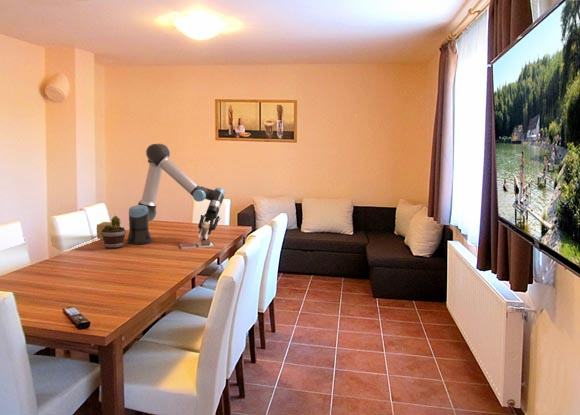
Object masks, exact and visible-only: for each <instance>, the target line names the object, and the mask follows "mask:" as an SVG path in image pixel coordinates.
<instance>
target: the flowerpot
mask: <svg viewBox="0 0 580 415" xmlns="http://www.w3.org/2000/svg"><path fill="white" fill-rule="evenodd" d="M110 222H112V225H113V226H112V225H111V226H112V227H111V226H110V224H109V225H107V226H105V227H104V229H102V231H101V232H100V234H101V236H103V239H102V240H103V241H104V242H103V246H104V247H105V249H110V250H113V249H120V248H123V246H124V245H125V241H124V240H125V235H126V234H127V230H126V229H125V227H123V226H121V225H122V224H121V218H120V217H118V216H117V215H116V214H115V215H114V216H113V217H112V218H111V219H110Z"/></svg>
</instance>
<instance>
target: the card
mask: <svg viewBox="0 0 580 415" xmlns="http://www.w3.org/2000/svg"><path fill="white" fill-rule="evenodd" d="M194 243H195V245H196V248H210V247H211V248H213V247H216V245H215V243H214V241H210V245H202V244H201V242H194Z"/></svg>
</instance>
